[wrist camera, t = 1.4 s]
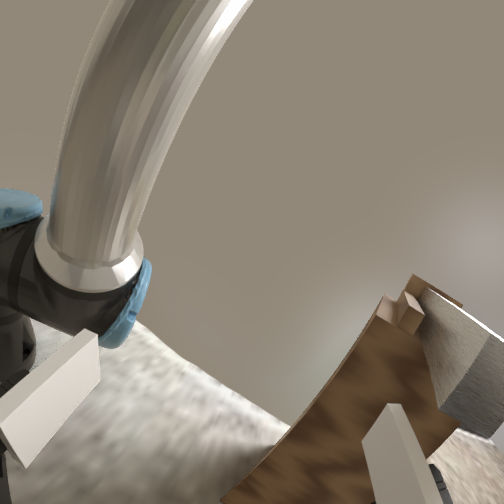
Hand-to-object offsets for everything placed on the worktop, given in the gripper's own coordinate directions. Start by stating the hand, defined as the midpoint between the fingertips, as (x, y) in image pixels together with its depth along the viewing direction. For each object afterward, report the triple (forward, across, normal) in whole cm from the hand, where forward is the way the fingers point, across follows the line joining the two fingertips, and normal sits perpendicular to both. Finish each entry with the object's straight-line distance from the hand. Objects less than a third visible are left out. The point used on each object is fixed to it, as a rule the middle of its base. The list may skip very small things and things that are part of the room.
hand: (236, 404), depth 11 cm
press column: (+12, +11, -29) cm, 34 cm away
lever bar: (+8, +15, +1) cm, 17 cm away
